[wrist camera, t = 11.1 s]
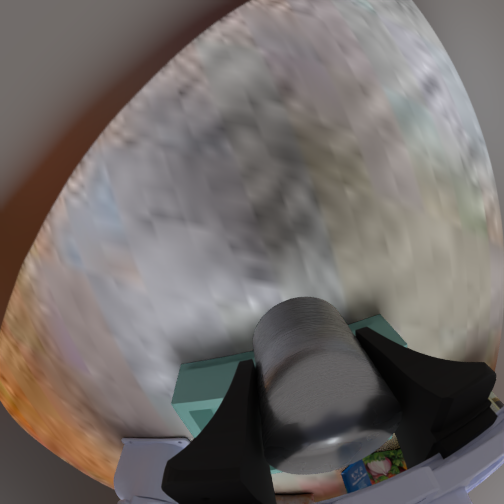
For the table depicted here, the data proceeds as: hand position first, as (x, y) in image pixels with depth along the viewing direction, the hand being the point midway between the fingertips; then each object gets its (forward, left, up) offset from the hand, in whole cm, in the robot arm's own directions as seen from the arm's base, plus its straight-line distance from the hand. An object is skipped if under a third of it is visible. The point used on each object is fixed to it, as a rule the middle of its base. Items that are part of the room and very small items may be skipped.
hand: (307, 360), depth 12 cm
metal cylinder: (0, 0, -2) cm, 2 cm away
